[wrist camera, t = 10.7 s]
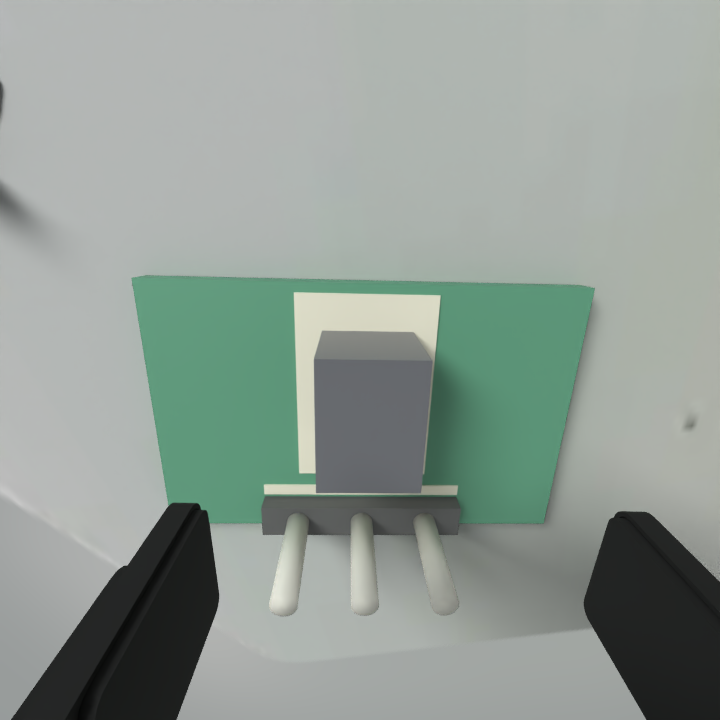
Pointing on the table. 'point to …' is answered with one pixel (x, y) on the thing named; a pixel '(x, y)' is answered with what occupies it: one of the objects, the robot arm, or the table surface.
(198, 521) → the robot arm
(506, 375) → the board
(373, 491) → the plug block
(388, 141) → the table surface
